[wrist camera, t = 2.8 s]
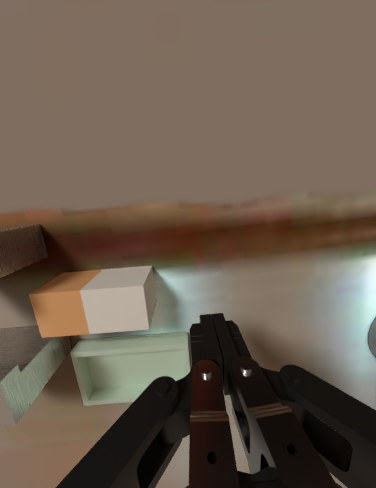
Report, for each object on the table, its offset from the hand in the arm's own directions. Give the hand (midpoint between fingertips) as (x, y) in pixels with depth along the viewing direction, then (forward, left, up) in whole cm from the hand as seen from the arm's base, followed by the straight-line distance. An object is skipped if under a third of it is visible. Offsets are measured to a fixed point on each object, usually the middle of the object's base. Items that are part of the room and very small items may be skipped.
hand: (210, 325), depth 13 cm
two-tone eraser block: (+9, 0, -8) cm, 12 cm away
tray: (+8, +10, -8) cm, 15 cm away
